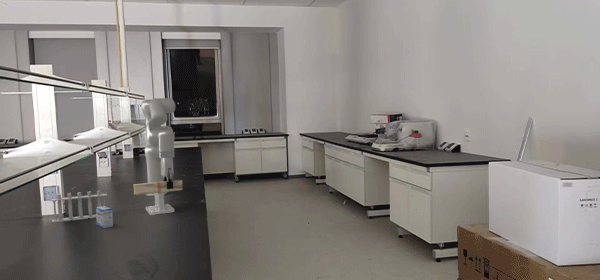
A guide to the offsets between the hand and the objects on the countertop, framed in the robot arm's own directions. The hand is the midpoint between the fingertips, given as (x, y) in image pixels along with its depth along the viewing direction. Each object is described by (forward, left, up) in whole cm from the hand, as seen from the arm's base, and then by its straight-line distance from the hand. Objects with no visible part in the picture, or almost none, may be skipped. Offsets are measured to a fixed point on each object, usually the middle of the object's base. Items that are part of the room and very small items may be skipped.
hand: (168, 187), depth 232 cm
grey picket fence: (-6, -42, -12) cm, 44 cm away
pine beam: (0, -5, -2) cm, 5 cm away
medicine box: (+16, -33, -12) cm, 39 cm away
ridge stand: (0, -5, -12) cm, 13 cm away
